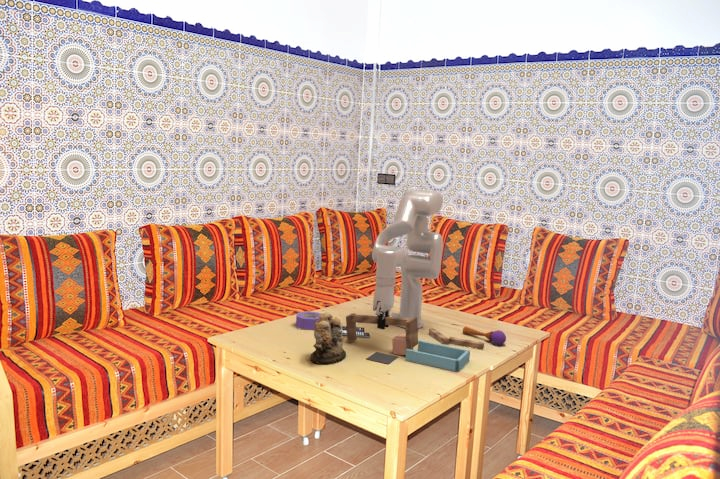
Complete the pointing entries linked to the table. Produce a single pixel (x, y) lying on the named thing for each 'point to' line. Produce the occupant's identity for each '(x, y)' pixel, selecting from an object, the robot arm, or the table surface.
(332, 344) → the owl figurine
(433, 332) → the plain stick
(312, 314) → the tape roll
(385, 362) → the grey square tile
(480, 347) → the plain stick
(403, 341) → the clay-red block
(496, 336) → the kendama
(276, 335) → the table surface
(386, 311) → the robot arm
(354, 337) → the crook rake
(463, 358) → the cubby
